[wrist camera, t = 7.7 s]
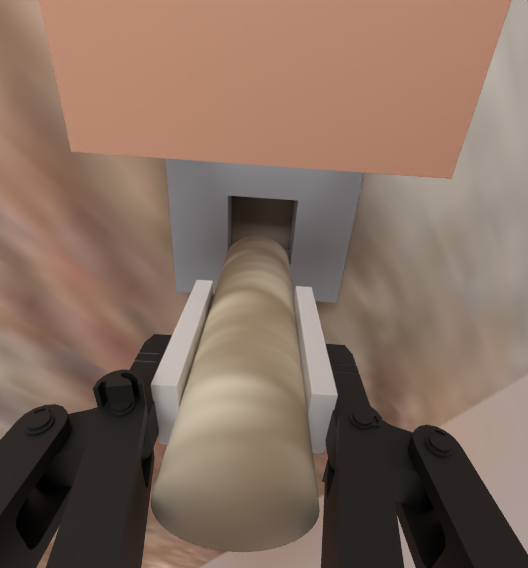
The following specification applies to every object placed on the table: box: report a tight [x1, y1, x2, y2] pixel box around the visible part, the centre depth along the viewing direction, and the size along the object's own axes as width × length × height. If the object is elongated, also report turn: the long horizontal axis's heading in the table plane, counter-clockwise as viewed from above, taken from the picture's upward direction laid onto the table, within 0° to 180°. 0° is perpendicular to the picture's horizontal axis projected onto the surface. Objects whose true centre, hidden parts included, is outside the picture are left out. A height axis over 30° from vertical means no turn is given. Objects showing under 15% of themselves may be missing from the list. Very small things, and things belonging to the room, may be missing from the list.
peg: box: [151, 235, 319, 552], centre depth 14 cm, size 4×4×14 cm
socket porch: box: [39, 0, 511, 303], centre depth 20 cm, size 18×14×14 cm
